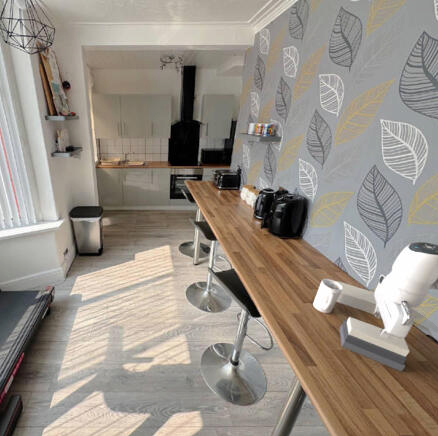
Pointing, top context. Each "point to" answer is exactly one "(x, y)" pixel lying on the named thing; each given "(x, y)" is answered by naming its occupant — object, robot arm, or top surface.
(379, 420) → the top surface
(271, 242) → the top surface
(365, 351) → the grey rectangular block
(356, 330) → the cream rectangular block
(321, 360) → the top surface
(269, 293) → the top surface
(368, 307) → the white rectangular block
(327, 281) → the mug
